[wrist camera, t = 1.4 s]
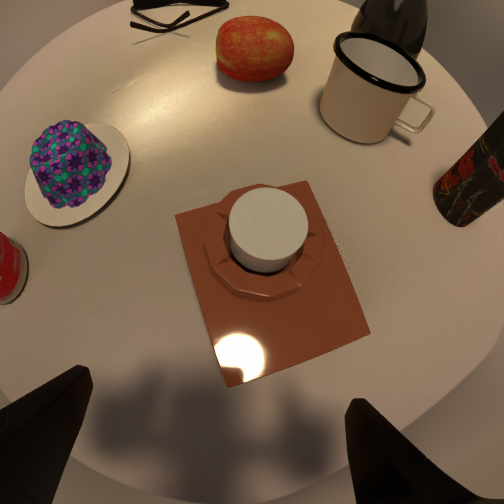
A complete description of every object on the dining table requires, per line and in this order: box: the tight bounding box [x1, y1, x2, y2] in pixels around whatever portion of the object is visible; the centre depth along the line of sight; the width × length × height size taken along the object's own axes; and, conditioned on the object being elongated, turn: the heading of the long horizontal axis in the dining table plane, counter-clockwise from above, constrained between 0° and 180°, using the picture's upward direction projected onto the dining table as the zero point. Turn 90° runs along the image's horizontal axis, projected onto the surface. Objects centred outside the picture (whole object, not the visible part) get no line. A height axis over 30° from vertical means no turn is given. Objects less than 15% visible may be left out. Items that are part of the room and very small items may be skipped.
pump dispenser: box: [351, 0, 428, 60], centre depth 29 cm, size 10×10×15 cm
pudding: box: [25, 120, 129, 226], centre depth 24 cm, size 12×12×5 cm
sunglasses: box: [130, 0, 229, 33], centre depth 34 cm, size 17×14×5 cm
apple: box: [216, 16, 294, 82], centre depth 29 cm, size 8×8×8 cm
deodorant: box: [433, 111, 504, 227], centre depth 22 cm, size 6×6×15 cm
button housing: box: [175, 181, 370, 388], centre depth 21 cm, size 12×10×6 cm
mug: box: [320, 31, 435, 144], centre depth 27 cm, size 12×10×9 cm
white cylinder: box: [229, 188, 308, 273], centre depth 18 cm, size 4×4×3 cm
